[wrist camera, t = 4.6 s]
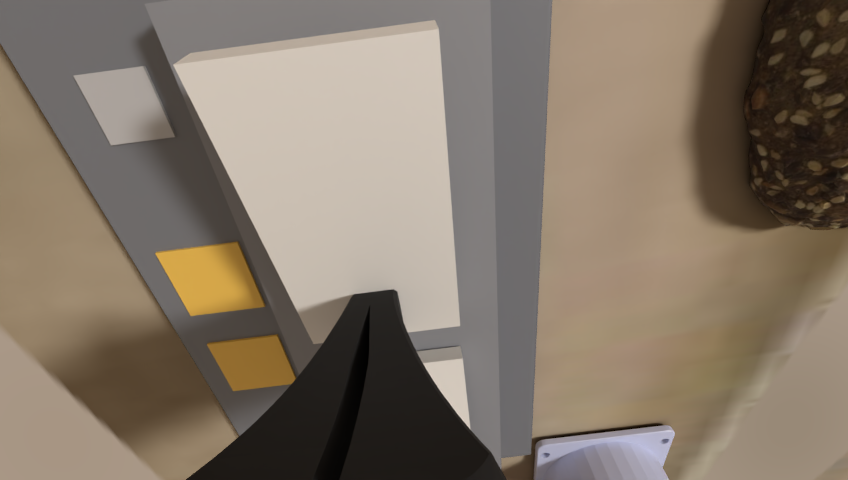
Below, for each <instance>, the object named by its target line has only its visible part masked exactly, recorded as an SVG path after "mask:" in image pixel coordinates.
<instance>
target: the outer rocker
mask: <svg viewBox="0 0 848 480" xmlns="http://www.w3.org/2000/svg"><path fill="white" fill-rule="evenodd" d="M173 66H174V68H175V70H176V72H177V74H178V76H179V78H180V80H181V82H182V84H183V86H184V88H185V90H186V92H187V94H188V96H189V97H190V99H191V101H192V103H193V105H194V107H195V109H196V111H197V113H198V115H199V117H200V119H201V121H202V123H203V125H204V127H205V129H206V131H207V133H208V135H209V137H210V139H211V141H212V143H213V145H214V147H215V149H216V151H217V153H218V155H219V157H220V159H221V161H222V163H223V165H224V167H225V169H226V171H227V173H228V175H229V177H230V179H231V181H232V183H233V185H234V187H235V189H236V191H237V193H238V195H239V197H240V199H241V201H242V203H243V205H244V207H245V209H246V211H247V213H248V215H249V217H250V219H251V221H252V223H253V225H254V227H255V229H256V231H257V233H258V235H259V237H260V239H261V241H262V243H263V245H264V247H265V249H266V251H267V253H268V255H269V257H270V259H271V261H272V263H273V265H274V267H275V269H276V270H277V272H278V274H279V276H280V278H281V280H282V282H283V284H284V286H285V288H286V290H287V292H288V294H289V296H290V298H291V300H292V302H293V304H294V306H295V308H296V310H297V312H298V314H299V316H300V318H301V320H302V322H303V324H304V326H305V328H306V330H307V332H308V334H309V336H310V338H311V340H312V342H313V344H319V343H323V342H324V341H325V339H326V338H327V336H328V335H329V333H330V332H331V330H332V329H333V327H334V326H335V324H336V322H337V321H338V319H339V317H340V316H341V314H342V313H343V311H344V309H345V307H346V306H347V304H348V302H349V300H350V299H351V297H352V296H353V295H354V294H359V293H367V292H375V291H383V290H391V289H394V290H396V291H397V292H398V297H399V301H400V306H401V311H402V317H403V322H404V325H405V327H406V330H407V332H416V331H424V330H433V329H441V328H449V327H457V326H460V315H459V301H458V287H457V273H456V260H455V246H454V232H453V218H452V204H451V190H450V176H449V163H448V149H447V135H446V121H445V107H444V93H443V80H442V66H441V52H440V38H439V28H438V26H437V24H436V21H435V20H431V21H424V22H417V23H409V24H402V25H394V26H387V27H380V28H372V29H365V30H357V31H350V32H343V33H335V34H328V35H320V36H313V37H306V38H298V39H291V40H283V41H276V42H269V43H261V44H254V45H246V46H239V47H232V48H224V49H217V50H209V51H202V52H195V53H189V54H188V55H187V56H185V57H184V58H182V59H181V60H179V61H178V62H176V63H175V64H173Z"/></svg>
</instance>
